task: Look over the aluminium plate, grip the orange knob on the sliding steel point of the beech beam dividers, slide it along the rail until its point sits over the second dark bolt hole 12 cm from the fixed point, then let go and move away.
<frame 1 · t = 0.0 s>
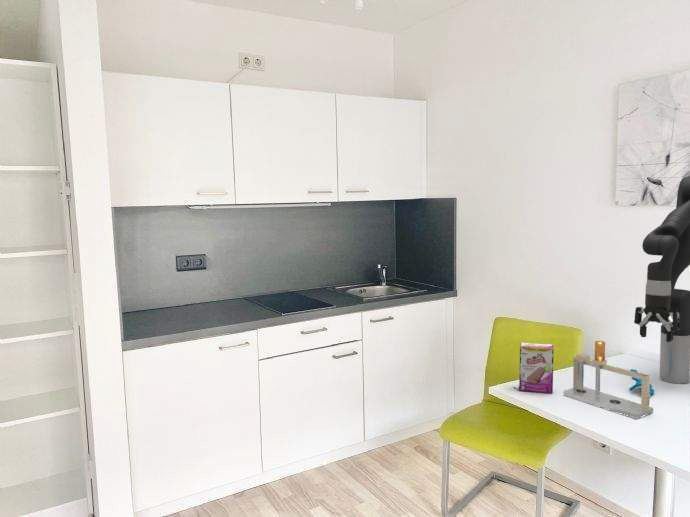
hand: (655, 339, 181), 17 cm above the table, tool pointing down, fingers open, 8 cm apart
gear: (641, 392, 179), on the table
candy bar box: (536, 391, 184), on the table
divider frame: (606, 403, 170), on the table
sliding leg: (599, 368, 172), point 11 cm above the table, slide at 6.0 cm
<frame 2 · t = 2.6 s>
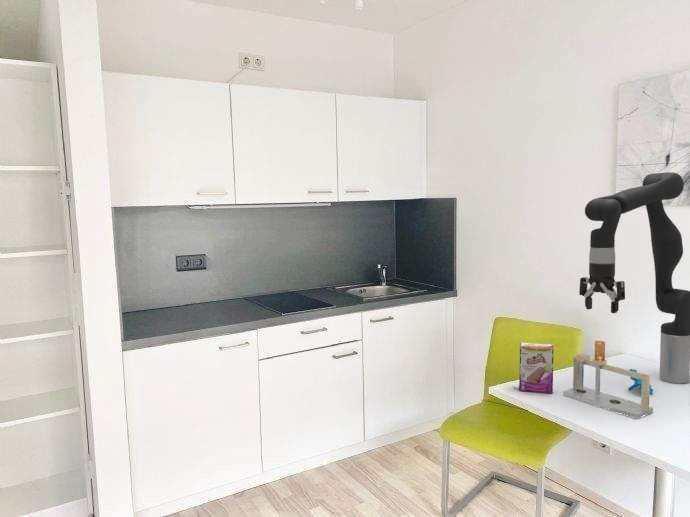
hand: (601, 310, 170), 30 cm above the table, tool pointing down, fingers open, 8 cm apart
nothing on the table moved.
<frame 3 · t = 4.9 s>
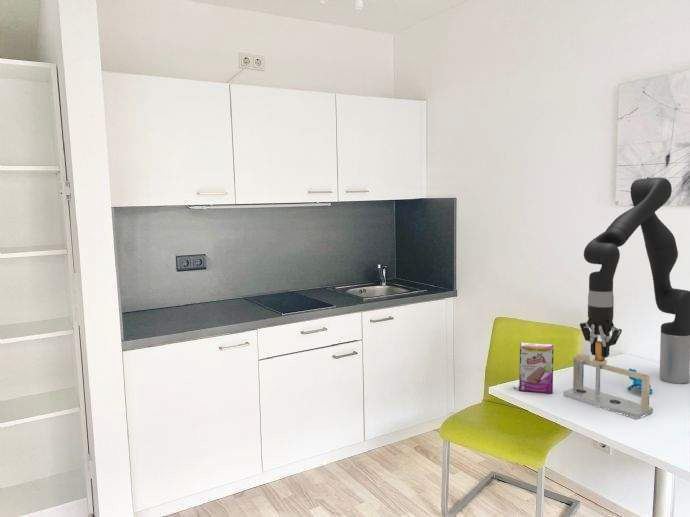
hand: (599, 355, 171), 15 cm above the table, tool pointing down, fingers closed on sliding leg, 3 cm apart
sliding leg: (599, 368, 172), point 11 cm above the table, slide at 6.0 cm, touching gripper
everything else where it was.
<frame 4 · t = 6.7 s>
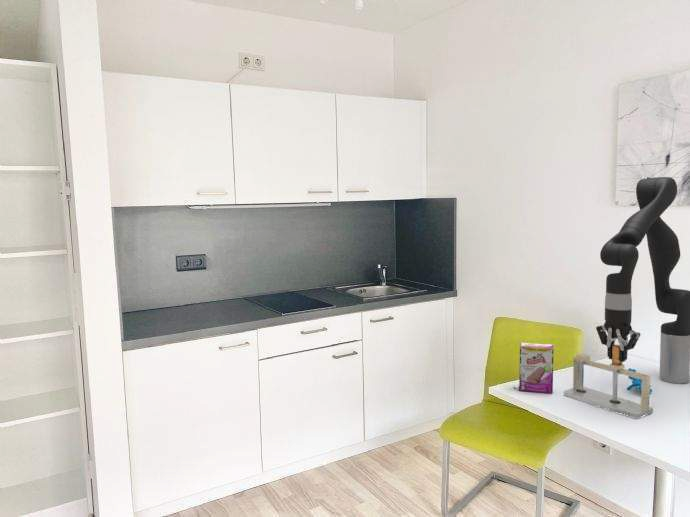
hand: (617, 359, 166), 15 cm above the table, tool pointing down, fingers closed on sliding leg, 3 cm apart
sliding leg: (616, 372, 167), point 11 cm above the table, slide at 11.9 cm, touching gripper
everything else where it was.
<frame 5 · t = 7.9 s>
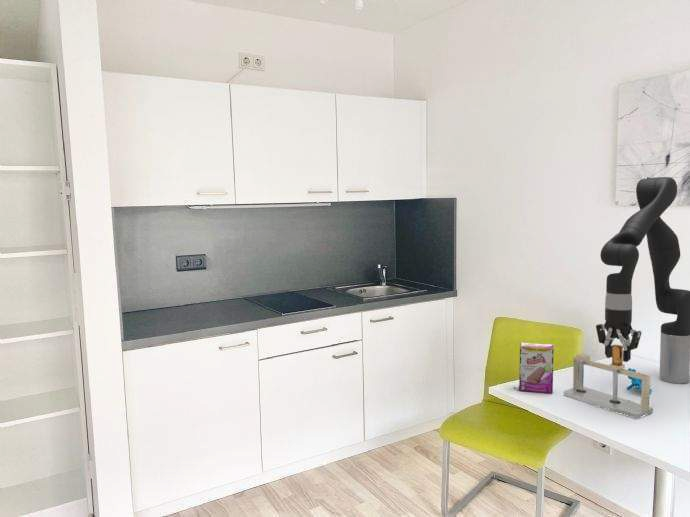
hand: (617, 359, 166), 15 cm above the table, tool pointing down, fingers open, 5 cm apart
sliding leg: (617, 372, 167), point 11 cm above the table, slide at 12.0 cm
everything else where it was.
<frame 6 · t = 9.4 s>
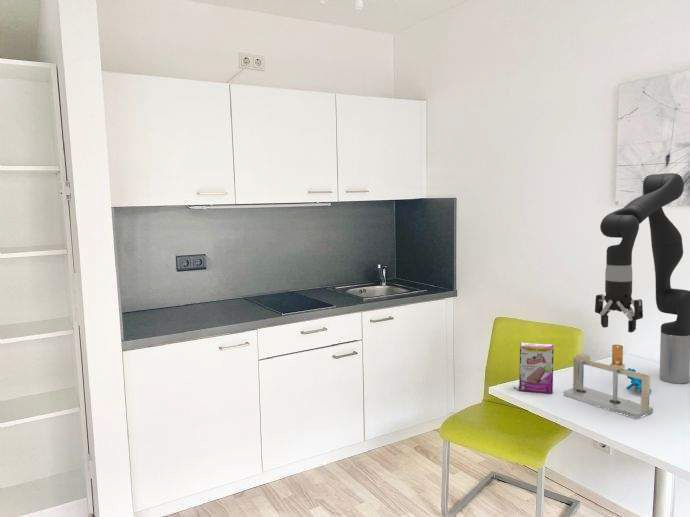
hand: (617, 329, 165), 25 cm above the table, tool pointing down, fingers open, 8 cm apart
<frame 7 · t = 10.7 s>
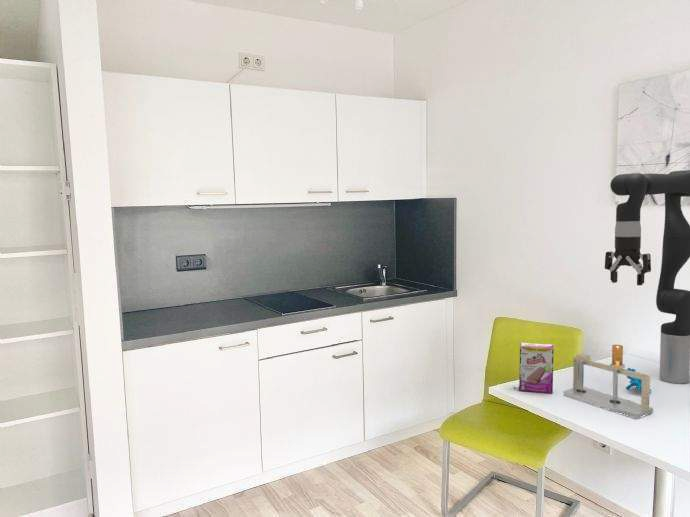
hand: (626, 283, 173), 38 cm above the table, tool pointing down, fingers open, 8 cm apart
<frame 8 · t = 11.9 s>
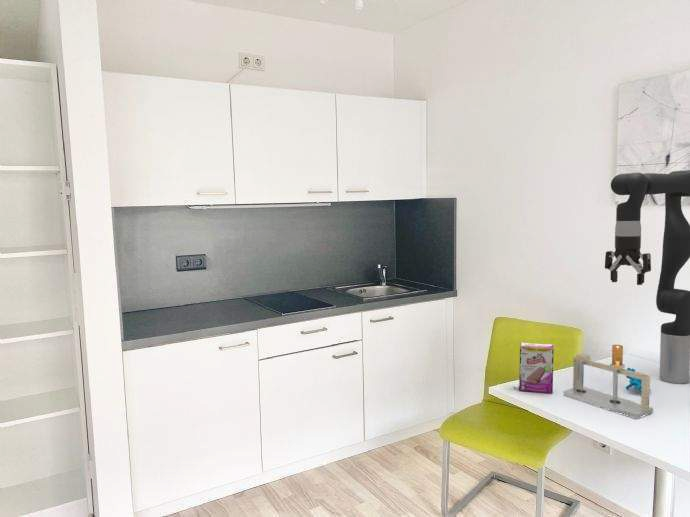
hand: (626, 283, 173), 38 cm above the table, tool pointing down, fingers open, 8 cm apart
at the end: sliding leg slide at 12.0 cm; the gripper is holding nothing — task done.
